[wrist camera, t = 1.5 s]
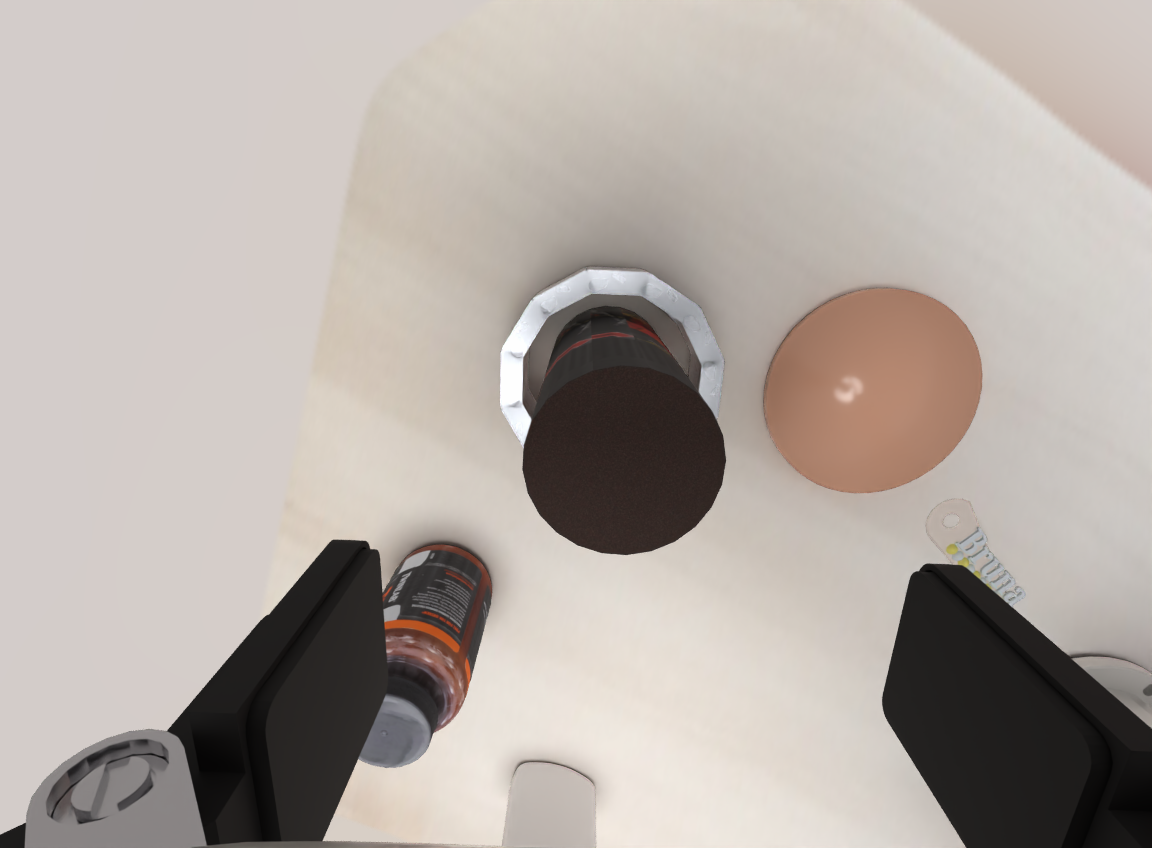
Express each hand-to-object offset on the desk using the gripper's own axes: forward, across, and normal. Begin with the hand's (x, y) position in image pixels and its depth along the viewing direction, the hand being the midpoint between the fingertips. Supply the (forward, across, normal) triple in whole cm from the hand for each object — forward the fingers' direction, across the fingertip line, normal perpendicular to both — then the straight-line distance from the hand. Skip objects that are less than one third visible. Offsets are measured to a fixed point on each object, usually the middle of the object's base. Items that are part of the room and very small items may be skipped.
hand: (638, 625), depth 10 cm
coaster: (+22, -14, +1) cm, 26 cm away
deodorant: (+22, 0, 0) cm, 23 cm away
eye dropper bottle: (+22, +2, +29) cm, 37 cm away
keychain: (+23, -23, +11) cm, 34 cm away
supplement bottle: (+23, +9, +14) cm, 28 cm away
